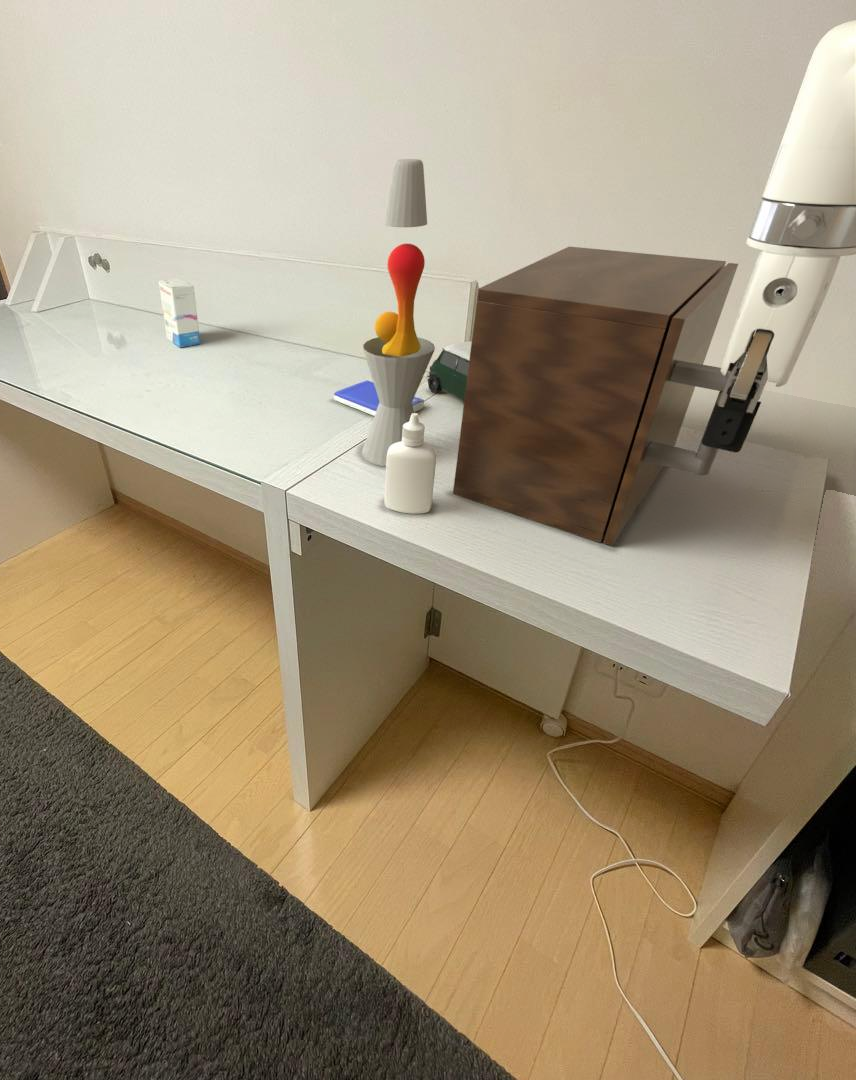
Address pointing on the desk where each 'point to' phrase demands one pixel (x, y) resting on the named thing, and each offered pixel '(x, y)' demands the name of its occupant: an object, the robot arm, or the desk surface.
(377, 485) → the desk surface
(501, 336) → the cupboard
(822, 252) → the robot arm
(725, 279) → the door
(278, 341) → the desk surface
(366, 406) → the blue book
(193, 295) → the ink box
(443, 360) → the miniature car
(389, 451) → the eye dropper bottle
